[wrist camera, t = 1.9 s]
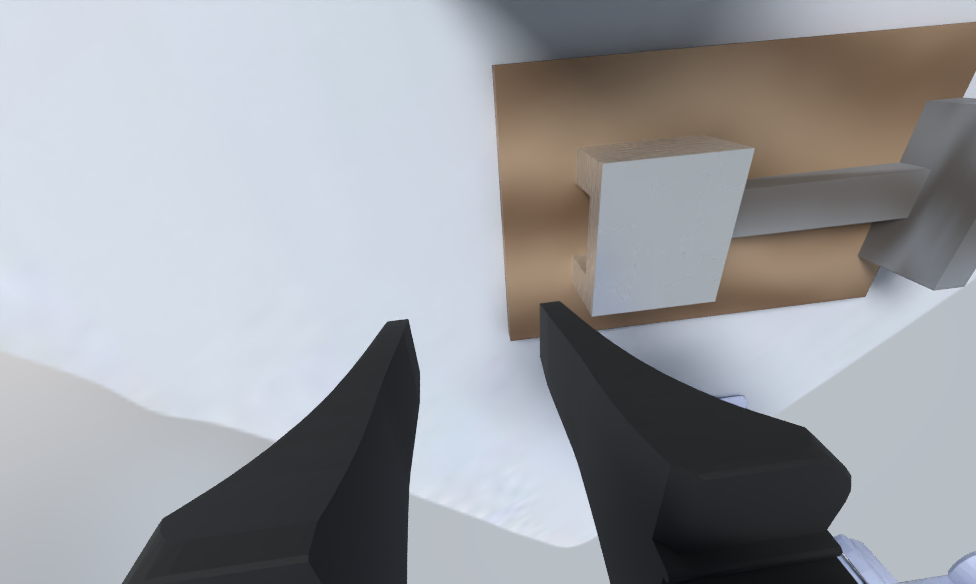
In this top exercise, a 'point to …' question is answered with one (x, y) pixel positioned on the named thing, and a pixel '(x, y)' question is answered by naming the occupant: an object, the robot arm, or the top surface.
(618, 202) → the block
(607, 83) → the slide rail board
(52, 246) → the top surface
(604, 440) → the robot arm
